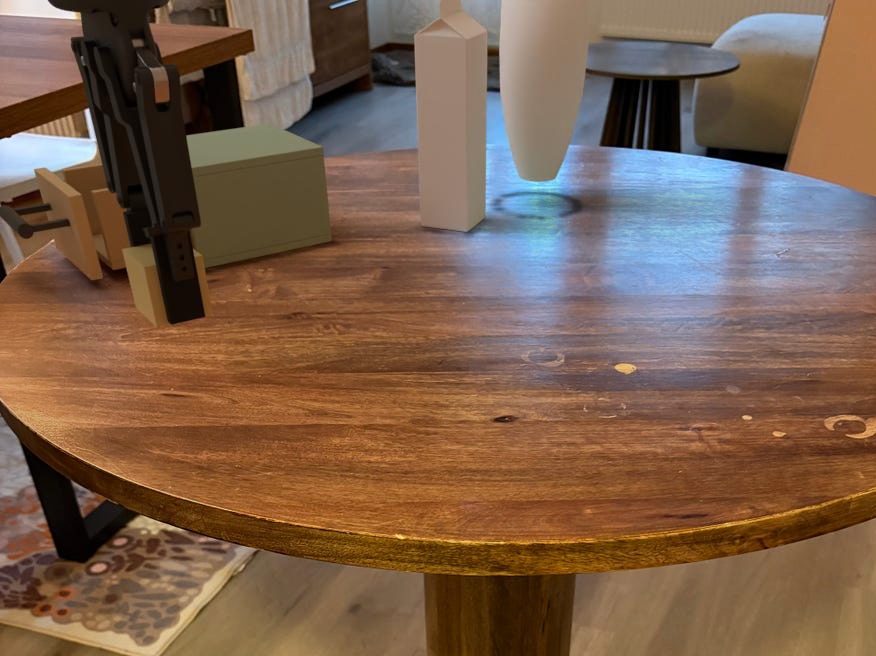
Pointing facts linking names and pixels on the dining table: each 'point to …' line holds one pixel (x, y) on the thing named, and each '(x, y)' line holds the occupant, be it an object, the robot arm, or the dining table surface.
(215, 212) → the cabinet
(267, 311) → the dining table surface
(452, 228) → the milk
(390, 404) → the dining table surface
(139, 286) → the block
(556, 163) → the cream tapered vase
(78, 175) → the drawer
